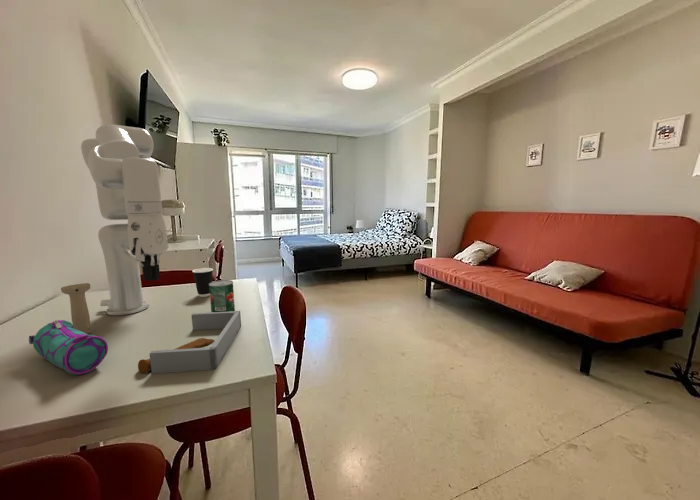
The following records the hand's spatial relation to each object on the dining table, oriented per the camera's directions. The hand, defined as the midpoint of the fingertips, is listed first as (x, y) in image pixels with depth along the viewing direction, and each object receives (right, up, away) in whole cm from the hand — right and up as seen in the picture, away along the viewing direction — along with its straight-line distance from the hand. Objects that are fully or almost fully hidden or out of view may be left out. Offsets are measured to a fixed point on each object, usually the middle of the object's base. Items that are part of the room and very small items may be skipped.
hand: (152, 279), depth 79 cm
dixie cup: (-10, -12, +50) cm, 53 cm away
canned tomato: (+6, -15, +29) cm, 33 cm away
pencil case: (-17, -21, -4) cm, 27 cm away
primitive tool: (+7, -20, 0) cm, 21 cm away
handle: (-29, -18, +12) cm, 36 cm away
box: (+11, -19, +4) cm, 22 cm away
